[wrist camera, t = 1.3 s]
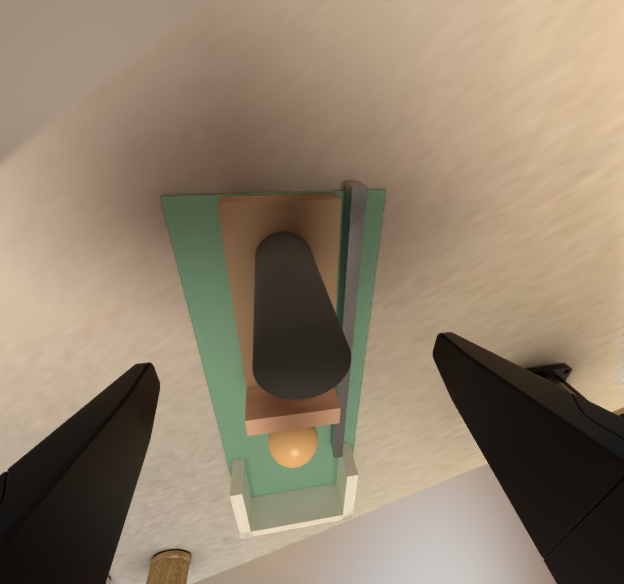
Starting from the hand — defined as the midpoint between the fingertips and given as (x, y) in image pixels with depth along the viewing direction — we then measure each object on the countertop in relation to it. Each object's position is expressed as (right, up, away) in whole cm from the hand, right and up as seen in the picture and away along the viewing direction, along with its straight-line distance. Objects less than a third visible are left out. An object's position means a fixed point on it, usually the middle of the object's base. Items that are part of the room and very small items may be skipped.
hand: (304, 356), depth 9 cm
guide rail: (+2, -2, +13) cm, 13 cm away
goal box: (-2, -16, +20) cm, 26 cm away
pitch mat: (-2, -6, +15) cm, 16 cm away
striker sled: (-2, +1, +10) cm, 10 cm away
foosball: (-1, -10, +14) cm, 17 cm away
